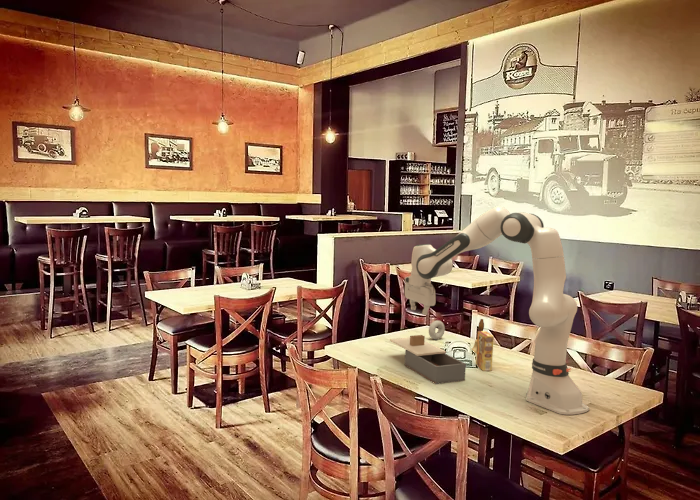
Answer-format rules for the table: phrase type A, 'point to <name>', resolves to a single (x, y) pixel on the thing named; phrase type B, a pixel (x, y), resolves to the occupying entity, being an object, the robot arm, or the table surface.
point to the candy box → (484, 350)
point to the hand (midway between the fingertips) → (418, 312)
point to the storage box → (436, 367)
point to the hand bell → (481, 327)
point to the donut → (440, 329)
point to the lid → (417, 345)
